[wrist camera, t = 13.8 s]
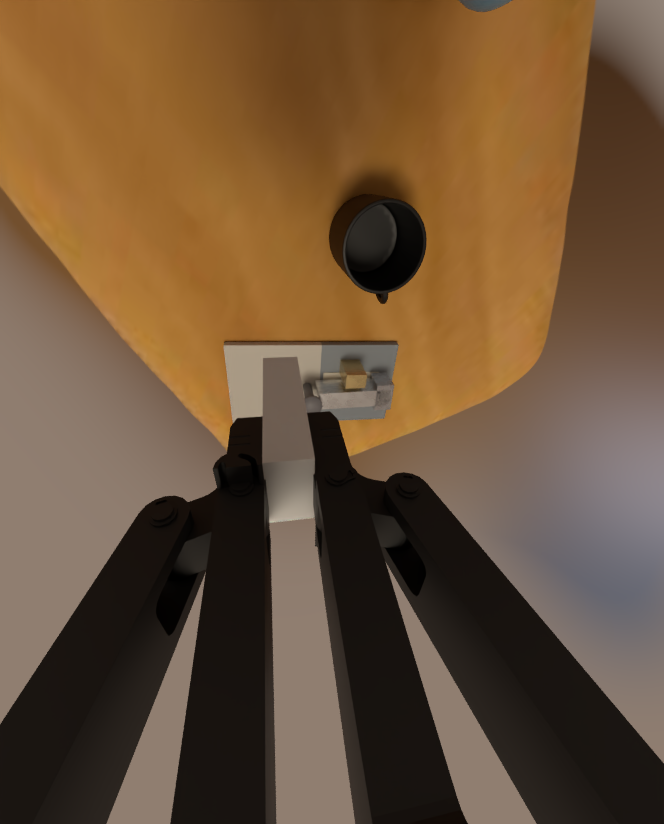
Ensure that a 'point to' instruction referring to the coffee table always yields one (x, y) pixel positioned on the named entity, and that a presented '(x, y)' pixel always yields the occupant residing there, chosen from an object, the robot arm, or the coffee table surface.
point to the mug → (378, 243)
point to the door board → (302, 371)
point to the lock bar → (356, 393)
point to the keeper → (352, 374)
